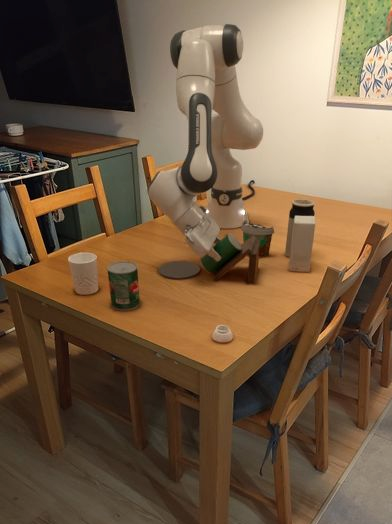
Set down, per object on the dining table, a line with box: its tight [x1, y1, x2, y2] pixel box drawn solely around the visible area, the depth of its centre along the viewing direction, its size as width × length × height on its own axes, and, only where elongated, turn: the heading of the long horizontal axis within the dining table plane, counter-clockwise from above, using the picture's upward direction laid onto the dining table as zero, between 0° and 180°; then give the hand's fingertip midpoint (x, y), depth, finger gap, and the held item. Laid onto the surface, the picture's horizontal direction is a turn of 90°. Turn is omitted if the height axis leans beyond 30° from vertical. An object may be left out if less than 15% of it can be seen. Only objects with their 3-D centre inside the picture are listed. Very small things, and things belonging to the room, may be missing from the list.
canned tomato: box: [106, 260, 141, 312], centre depth 125 cm, size 8×8×11 cm
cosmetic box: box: [289, 215, 316, 273], centre depth 145 cm, size 8×7×16 cm
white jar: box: [211, 324, 234, 343], centre depth 112 cm, size 5×3×5 cm
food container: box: [240, 220, 275, 258], centre depth 156 cm, size 12×6×10 cm, turn 47°
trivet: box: [158, 260, 201, 280], centre depth 147 cm, size 13×13×1 cm
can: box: [199, 233, 242, 274], centre depth 142 cm, size 6×13×13 cm, turn 78°
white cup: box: [67, 252, 99, 296], centre depth 133 cm, size 8×8×10 cm
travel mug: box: [284, 198, 316, 258], centre depth 153 cm, size 8×8×18 cm
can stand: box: [213, 235, 260, 285], centre depth 142 cm, size 12×12×11 cm
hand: (221, 254), depth 142 cm, fingers closed on can, 6 cm apart
